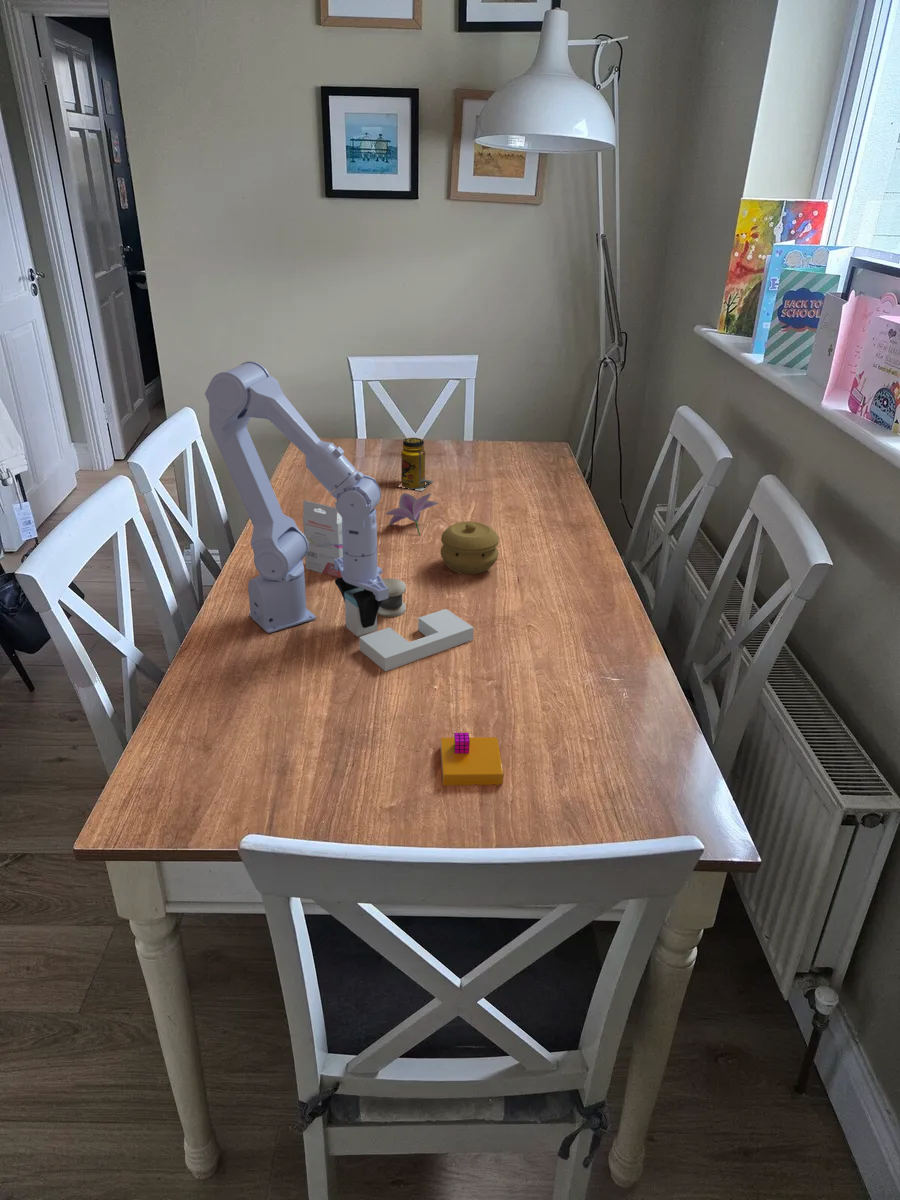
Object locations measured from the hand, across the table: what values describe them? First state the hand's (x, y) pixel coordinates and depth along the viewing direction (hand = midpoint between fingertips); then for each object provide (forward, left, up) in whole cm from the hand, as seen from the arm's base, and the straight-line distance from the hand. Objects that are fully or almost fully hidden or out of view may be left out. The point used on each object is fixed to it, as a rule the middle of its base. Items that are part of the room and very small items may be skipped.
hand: (361, 620), depth 142 cm
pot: (+31, +9, -2) cm, 32 cm away
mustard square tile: (-7, -40, -2) cm, 41 cm away
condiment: (+50, +56, -2) cm, 75 cm away
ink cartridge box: (+7, +24, -2) cm, 25 cm away
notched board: (+5, -10, -2) cm, 11 cm away
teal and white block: (0, 0, -2) cm, 2 cm away
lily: (+33, +32, -2) cm, 46 cm away
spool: (+8, +3, -2) cm, 9 cm away
